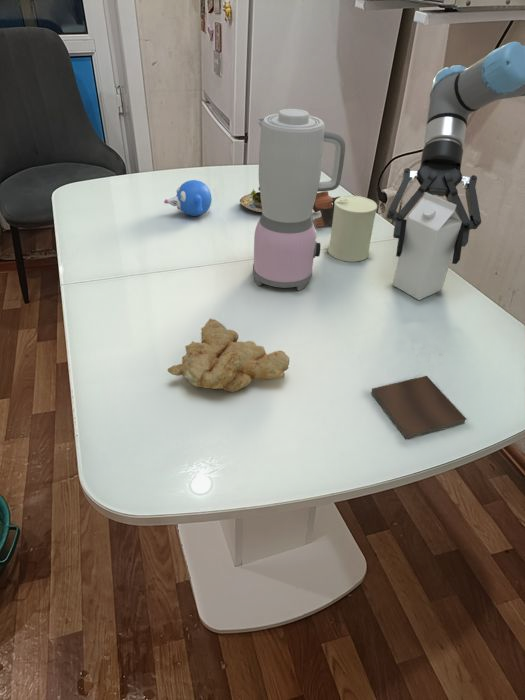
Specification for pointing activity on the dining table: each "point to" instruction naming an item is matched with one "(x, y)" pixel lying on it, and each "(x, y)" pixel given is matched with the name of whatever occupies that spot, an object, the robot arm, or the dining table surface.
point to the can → (352, 228)
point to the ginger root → (228, 360)
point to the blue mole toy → (192, 198)
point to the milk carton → (427, 247)
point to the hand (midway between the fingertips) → (427, 258)
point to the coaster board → (417, 406)
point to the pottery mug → (324, 209)
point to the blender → (291, 195)
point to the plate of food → (252, 201)
